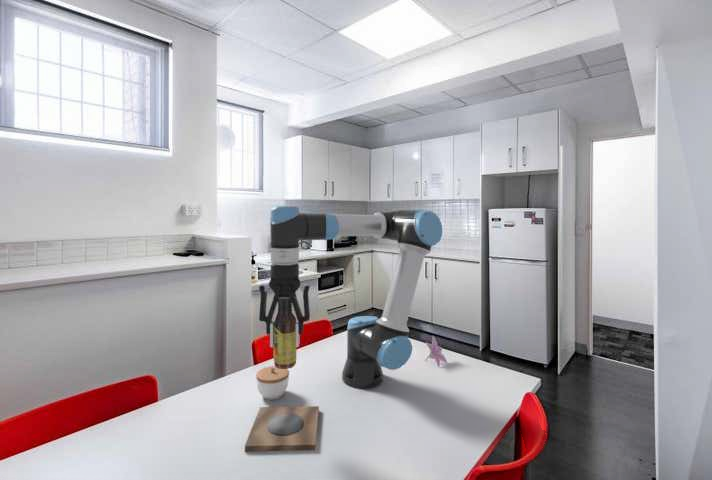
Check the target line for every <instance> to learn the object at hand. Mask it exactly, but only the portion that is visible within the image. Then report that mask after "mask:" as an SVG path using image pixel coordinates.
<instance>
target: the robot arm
mask: <svg viewBox="0 0 712 480" xmlns="http://www.w3.org/2000/svg"><path fill="white" fill-rule="evenodd" d="M269 220H270V221H269V225H270V262H272V263H271V265H270V280H269V282H267V283H261V284H260V285H259V287H258V289H259V293H260V303H259V319H258V320H259V321H260V322H265V325H266V327H265V329H266V330H265V332H266V335H269V339H270V340H269V343H270V344H269V347H270V348H274V329H273V327H274V322H275V320H273V317H274V315H275V311H276V308H277V307H278V301H277V300H278V297H290V300H291V301H292V309H293V310H294V313H295V314H294V315H295V318H296V348H299V346H300V335H303V333H304V323H305V322H308V321H309V320H310V319H311V314H310V313H311V312H310V311H311V310H310V298H309V290H310V287H311V285H310V284H309V283H302V282H301V280H300V275H299V274H300V267H299V266H300V265H299V259H300V241H328V240H334V239H336V238H337V237H369V236H370V237H374V239H384V240H386V239H387V240H392V241H396V242H397V243H396V245H397V247H398V249H399V251H398V256H397V259H396V264H395V267H394V270H393V275H392V278H391V281H390V286H389V288H388V293H387V297H386V300H385V302H384V303H385V305H384V307H383V311H382V315H381V317H380V318H379V317H378V316H373V315H361V316H355V317H354V316H353V317H352V318H350V319H349V320H348V322H347V329H346V330H347V336H346V337H347V339H346V341H347V342H346V343H347V345H346V346H347V347H346V349H347V351H346V352H347V354H346V355H347V356H346V359H345V363H344V366H343V369H342V373H341V375H342V377H341V378H342V379H341V380H342V381H343V382H344V383H345V384H346V385H347V386H349V387H353V388H356V389H370V388H375V387H377V386H379V385H381V384H382V382H383V381H384V373H383V369H382V368H385V369H387V370H391V371H392V370H394V371H395V370H398V369H400V368H402V366H404V365H406V363H407V362H408V361H409V360H410V358H411V356H412V352H413V345H412V342H411V340H410V339H409V333H410V329H409V327H408V324H407V323H408V320H409V317H410V316H409V315H410V313H411V308H412V305H413V300H414V297H415V293H416V289H417V286H418V281H419V277H420V274H421V271H422V267H423V262H424V259H425V256H427V255H428V254H430V252H431V251H432V247H433V246H435V245H437V244H438V243H439V242H440V241H441V239H442V236H443V224H442V221H441V219H440V217H439V215H438V214H436V213H435V212H433V211H431V210H424V209H418V210H416V209H415V210H414V209H413V210H410V209H409V210H408V209H407V210H406V209H405V210H404V209H401V210H393V211H391V210H390V211H382V212H381V211H380V212H379V211H378V212H375V213H374V214H354V213H351V214H350V213H349V214H347V213H345V214H344V213H308V212H304V213H302V212H300V209H299V206H292V205H291V206H290V205H289V206H287V205H277V206H276V205H275V206H273V207H272V208H271V210H270V219H269ZM299 288H300V291H301V292H302V293H303V294H302V297H303V298H302V299H303V312H304V314H303V312H302V309H301V306H300V304H299V301H298V300H299V299H298V297H297V294H296V292H297V291H298V289H299ZM270 289H271V290H272V292H273V293H274V295H273V298H272V302H271V305H270V308H269V311H268V314H267V300H268V292H269V290H270ZM266 314H267V315H266Z"/></svg>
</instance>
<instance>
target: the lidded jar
mask: <svg viewBox="0 0 712 480" xmlns="http://www.w3.org/2000/svg"><path fill="white" fill-rule="evenodd" d="M289 377H290V371H289V368H288V369H278V368H276V366H275V365H271V366H266V367H265V366H264V367H262V368H261V369H259V370H258V371H257V372H256V375H255V378H256V387H257V390H258V393H259V394H260V395H261V396H263V398H264V399H266V400H270V401H271V400H272V401H273V400H277V399H279V398H281V397H282V395H283V394H284V393H285V392H286V390H287V389H288V385H289V379H290V378H289Z"/></svg>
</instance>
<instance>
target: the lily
mask: <svg viewBox="0 0 712 480" xmlns="http://www.w3.org/2000/svg"><path fill="white" fill-rule="evenodd" d="M425 344H426V346H427V348H428V349H429V350H430V351H429V355H427V357H426V359H424V360H425V361H427V360H428V358H429V359H432V360H435V362H436V365H437V366H438V367H437V368H440V366H441V362H443V363H445V364H448V361H447V358H446V357H445V355H444V354H443V353H442V351H443V347H441V346H440V345H439V346H438V342H437V340H436V338H435V336H434V335H432V340H431V343H429V342H427V341H425Z"/></svg>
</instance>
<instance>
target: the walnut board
mask: <svg viewBox="0 0 712 480" xmlns="http://www.w3.org/2000/svg"><path fill="white" fill-rule="evenodd" d="M319 415H320V406H317V405H316V406H312V405H311V406H309V405H308V406H260V407H259V409H258V413H257V414H256V416H255V419H254V421H253V424H252V426H251V429H250V432H249V434H248V437H247V439H246V442H245V445H244V452H288V451H290V452H292V451H293V452H294V451H297V452H298V451H316V447H317V436H318V435H317V434H318V426H319V424H318V423H319Z"/></svg>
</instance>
